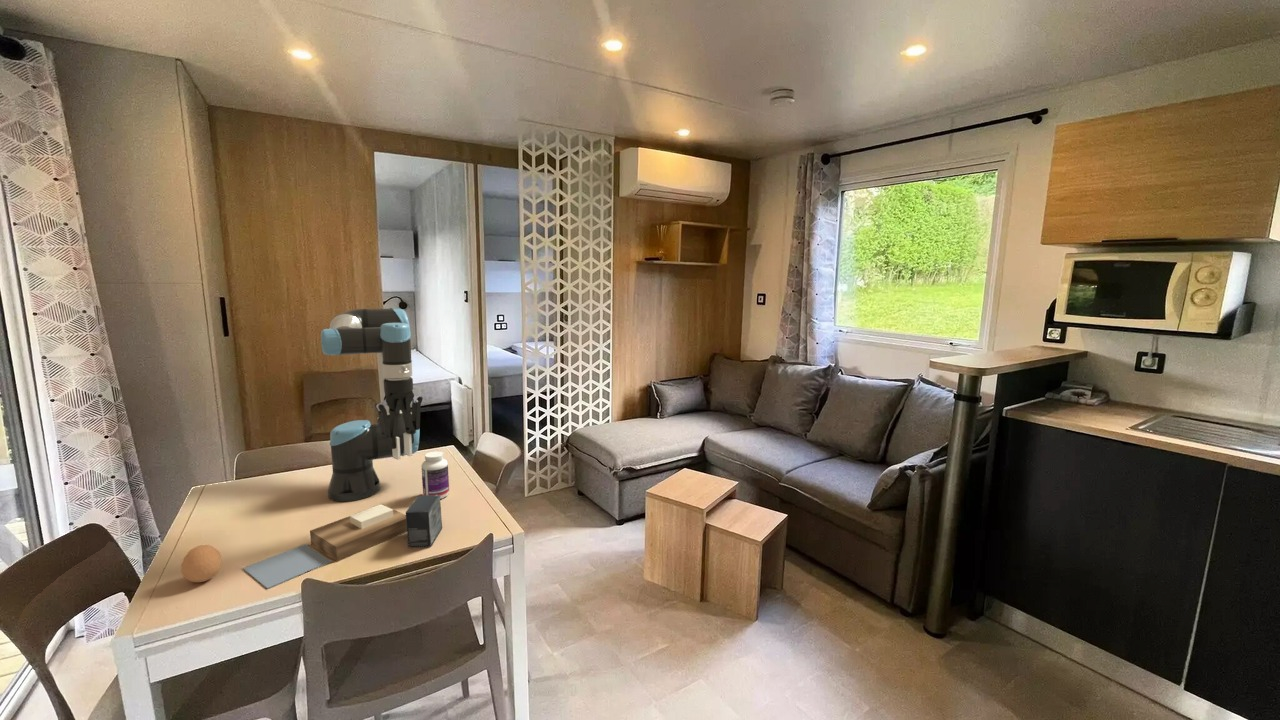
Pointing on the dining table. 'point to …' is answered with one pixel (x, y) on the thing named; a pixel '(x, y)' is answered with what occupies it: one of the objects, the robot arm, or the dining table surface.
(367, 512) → the cream butter stick
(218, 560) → the egg
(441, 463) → the pill bottle
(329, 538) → the wooden block
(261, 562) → the mat
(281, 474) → the dining table surface
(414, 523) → the small box
